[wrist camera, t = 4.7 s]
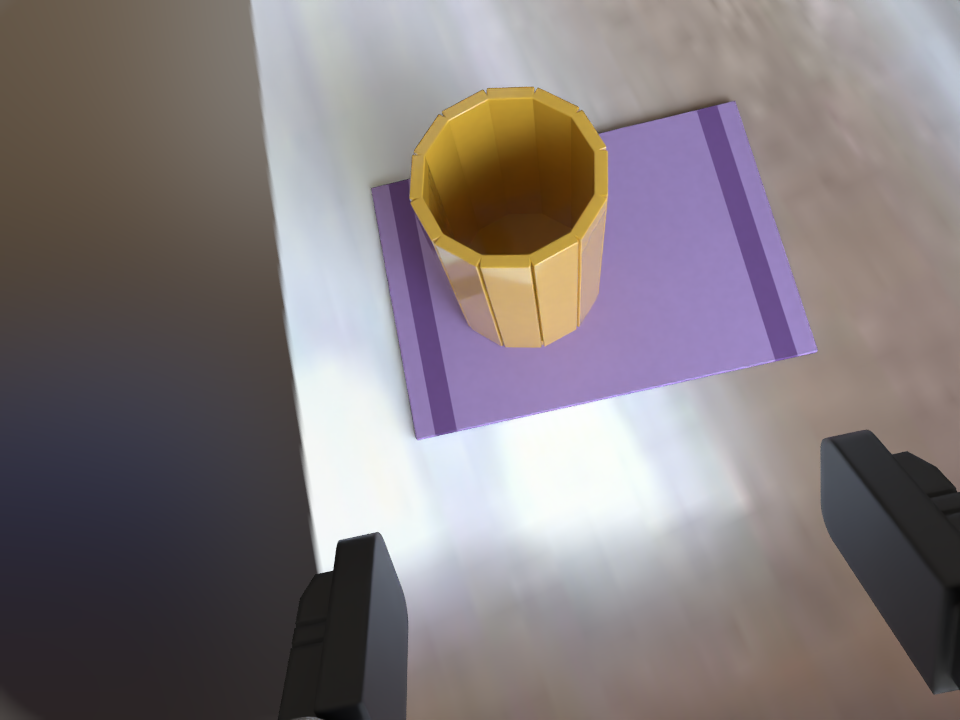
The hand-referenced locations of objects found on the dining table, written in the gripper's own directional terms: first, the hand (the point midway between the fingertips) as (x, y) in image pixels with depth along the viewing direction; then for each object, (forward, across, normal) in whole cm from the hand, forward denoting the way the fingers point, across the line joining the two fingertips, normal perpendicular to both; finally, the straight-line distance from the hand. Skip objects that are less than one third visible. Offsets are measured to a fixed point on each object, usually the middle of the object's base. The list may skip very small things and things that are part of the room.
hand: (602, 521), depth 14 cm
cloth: (+21, -3, +4) cm, 22 cm away
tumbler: (+21, 0, +4) cm, 21 cm away
